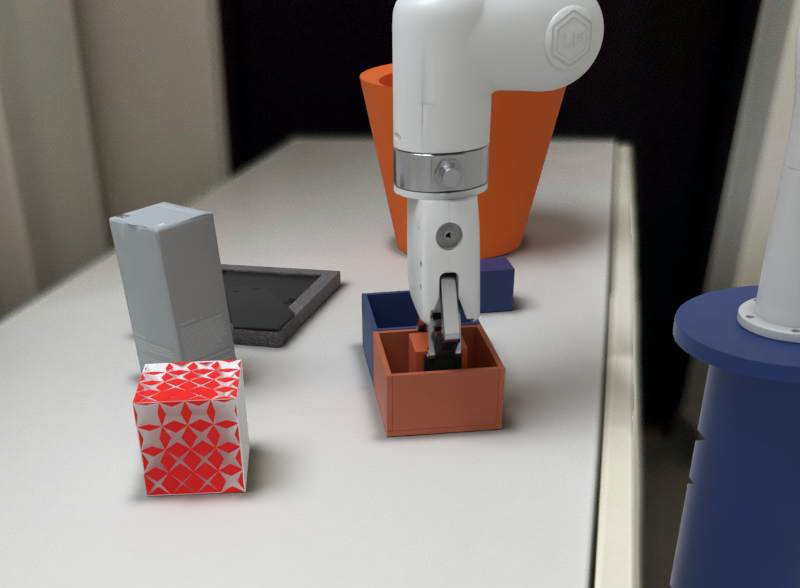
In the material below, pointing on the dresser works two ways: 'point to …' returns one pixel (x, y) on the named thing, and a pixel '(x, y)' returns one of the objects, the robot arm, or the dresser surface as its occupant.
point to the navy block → (496, 284)
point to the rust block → (420, 349)
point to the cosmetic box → (173, 284)
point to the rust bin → (438, 387)
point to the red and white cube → (192, 427)
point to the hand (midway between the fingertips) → (437, 385)
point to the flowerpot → (508, 158)
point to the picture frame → (273, 300)
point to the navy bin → (389, 317)
